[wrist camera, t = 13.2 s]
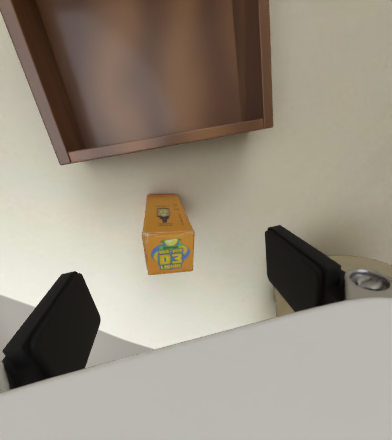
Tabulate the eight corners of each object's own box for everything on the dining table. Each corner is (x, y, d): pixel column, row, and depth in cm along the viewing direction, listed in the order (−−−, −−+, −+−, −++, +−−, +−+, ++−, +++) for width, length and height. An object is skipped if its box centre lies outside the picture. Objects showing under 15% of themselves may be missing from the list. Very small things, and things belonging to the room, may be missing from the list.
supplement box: (148, 224, 23) (143, 278, 13) (146, 193, 22) (139, 228, 12) (179, 223, 23) (194, 273, 14) (178, 193, 22) (195, 225, 13)
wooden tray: (235, -50, 17) (265, -125, 12) (248, 131, 21) (273, 127, 17) (14, -34, 15) (-49, -115, 10) (82, 161, 20) (59, 165, 15)
